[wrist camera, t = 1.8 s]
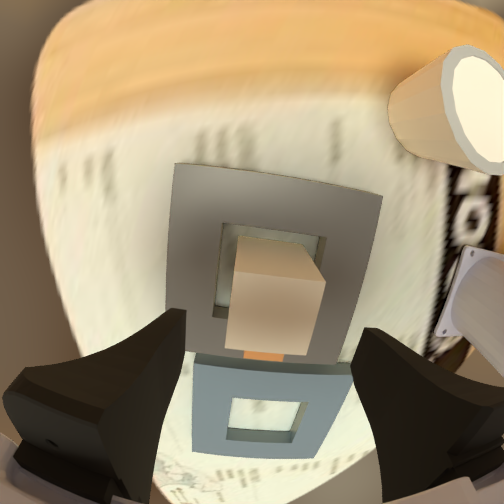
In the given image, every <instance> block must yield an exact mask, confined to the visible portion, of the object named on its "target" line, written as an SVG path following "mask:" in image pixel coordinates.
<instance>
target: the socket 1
mask: <svg viewBox="0 0 504 504" xmlns="http://www.w3.org/2000/svg"><path fill="white" fill-rule="evenodd" d="M382 199H383V196H381V195H378V194H374V193H370V192H366V191H361V190H357V189H352V188H347V187H342V186H337V185H332V184H327V183H322V182H317V181H311V180H306V179H300V178H294V177H288V176H282V175H275V174H269V173H262V172H255V171H248V170H240V169H232V168H224V167H215V166H206V165H197V164H186V163H175V166H174V175H173V185H172V195H171V206H170V218H169V232H168V249H167V271H166V311H167V310H169V309H170V308H177V309H184V310H187V313H186V339H185V351H189V352H196V353H203V354H210V355H217V356H225V357H233V358H242V359H246V358H243V357H244V350H236V349H228V348H225V341H226V332H227V323H228V315H229V308H225V307H218V306H215V296H216V286H217V276H218V267H219V258H220V249H221V240H222V232H223V223H228V224H236V225H243V226H251V227H258V228H265V229H272V230H280V231H287V232H294V233H300V234H307V235H314V236H320V238H319V243H318V248H317V253H316V257H315V262H314V264H315V265H316V267H317V268H318V270H319V272H320V273H321V275H322V276H323V278H324V280H325V281H326V284H325V289H324V292H323V296H322V300H321V304H320V308H319V312H318V315H317V319H316V323H315V326H314V330H313V333H312V337H311V340H310V344H309V347H308V351H307V354H306V355H290V354H284V357H283V361H282V362H287V363H304V364H328V365H336V363H337V360H338V357H339V355H340V352H341V349H342V346H343V343H344V341H345V338H346V335H347V332H348V329H349V326H350V323H351V320H352V317H353V313H354V310H355V307H356V304H357V300H358V297H359V294H360V290H361V287H362V283H363V280H364V276H365V272H366V269H367V265H368V261H369V257H370V253H371V249H372V245H373V241H374V236H375V232H376V228H377V223H378V218H379V214H380V209H381V204H382ZM251 360H256V359H251ZM262 361H268V360H262ZM273 362H280V361H273Z"/></svg>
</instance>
